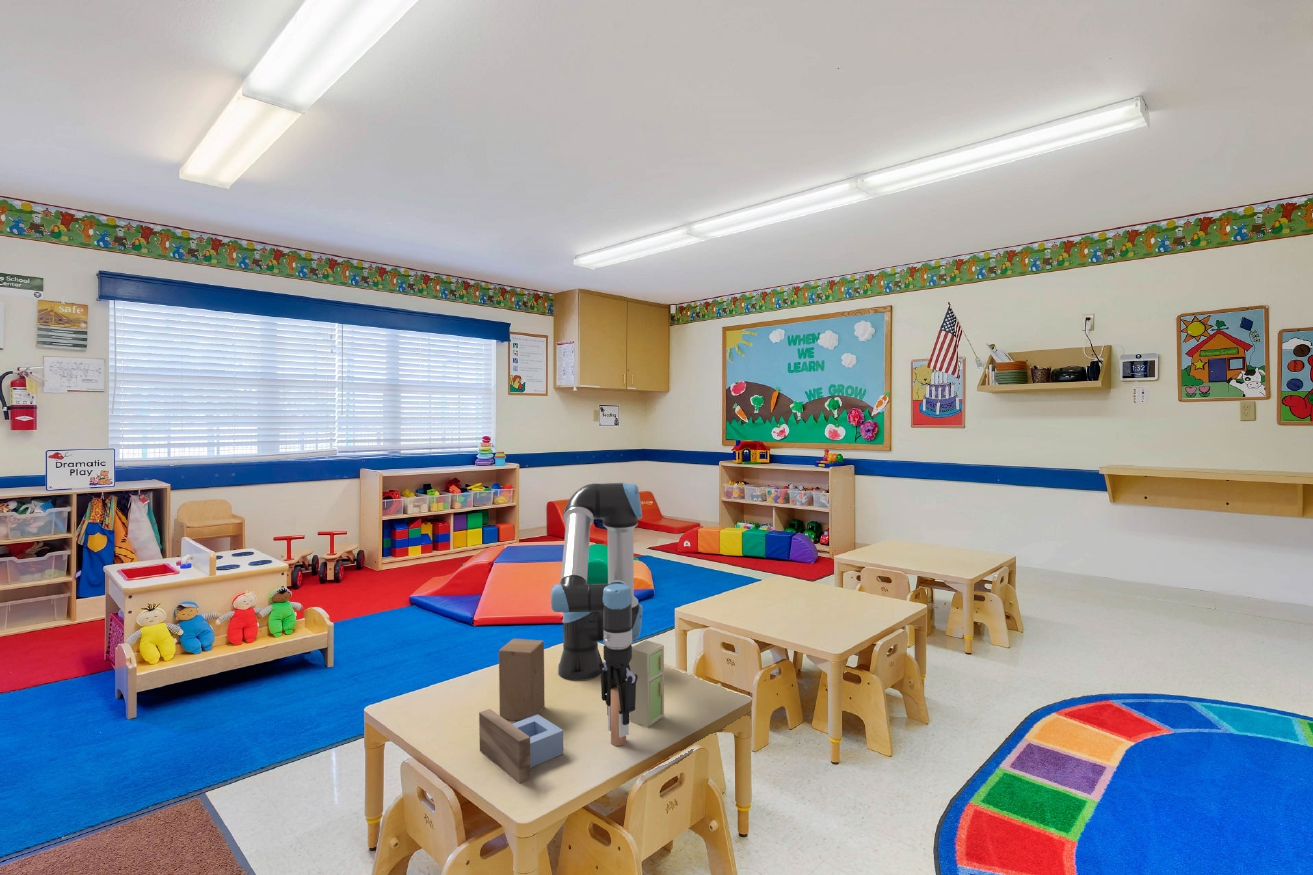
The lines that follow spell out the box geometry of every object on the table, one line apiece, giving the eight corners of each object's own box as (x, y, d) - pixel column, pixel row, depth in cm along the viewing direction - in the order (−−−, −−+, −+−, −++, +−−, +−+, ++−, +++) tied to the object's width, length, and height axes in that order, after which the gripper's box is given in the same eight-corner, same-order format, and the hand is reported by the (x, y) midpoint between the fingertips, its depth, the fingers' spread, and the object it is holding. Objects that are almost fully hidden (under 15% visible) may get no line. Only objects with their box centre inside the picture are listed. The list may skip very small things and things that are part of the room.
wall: (490, 746, 165) (489, 708, 164) (530, 778, 150) (530, 736, 150) (479, 750, 163) (479, 712, 162) (519, 783, 148) (518, 741, 148)
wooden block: (531, 722, 178) (531, 652, 177) (499, 719, 180) (498, 649, 179) (545, 706, 187) (544, 640, 187) (513, 703, 189) (513, 637, 189)
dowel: (619, 736, 169) (619, 685, 169) (629, 742, 166) (629, 689, 166) (607, 741, 167) (607, 689, 166) (617, 747, 164) (617, 694, 163)
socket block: (538, 736, 170) (538, 714, 170) (563, 753, 161) (563, 730, 161) (497, 752, 162) (497, 729, 161) (521, 771, 153) (521, 746, 153)
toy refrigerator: (649, 728, 174) (649, 653, 173) (629, 721, 178) (628, 647, 177) (666, 717, 180) (666, 645, 179) (646, 710, 184) (646, 639, 184)
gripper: (587, 639, 170) (587, 725, 170) (627, 657, 157) (627, 749, 158) (609, 633, 175) (609, 716, 175) (649, 649, 162) (650, 739, 163)
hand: (618, 732), depth 167 cm, fingers closed on dowel, 4 cm apart
